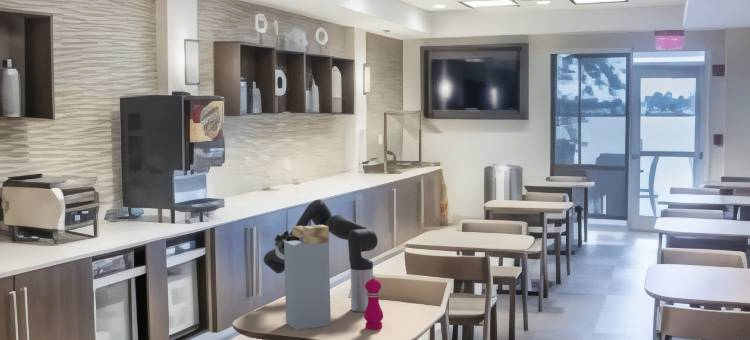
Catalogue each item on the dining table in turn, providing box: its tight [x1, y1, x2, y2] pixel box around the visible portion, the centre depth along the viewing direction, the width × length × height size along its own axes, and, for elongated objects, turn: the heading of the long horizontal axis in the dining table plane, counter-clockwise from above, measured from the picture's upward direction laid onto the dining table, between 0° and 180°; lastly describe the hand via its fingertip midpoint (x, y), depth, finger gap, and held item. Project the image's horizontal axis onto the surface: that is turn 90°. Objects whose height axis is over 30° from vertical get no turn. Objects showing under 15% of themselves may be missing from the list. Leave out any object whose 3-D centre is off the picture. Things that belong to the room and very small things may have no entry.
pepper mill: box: [363, 274, 384, 331], centre depth 307 cm, size 7×7×20 cm
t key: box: [291, 224, 330, 244], centre depth 319 cm, size 8×24×6 cm, turn 26°
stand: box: [284, 237, 332, 331], centre depth 313 cm, size 14×11×33 cm
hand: (297, 232), depth 327 cm, fingers open, 8 cm apart
